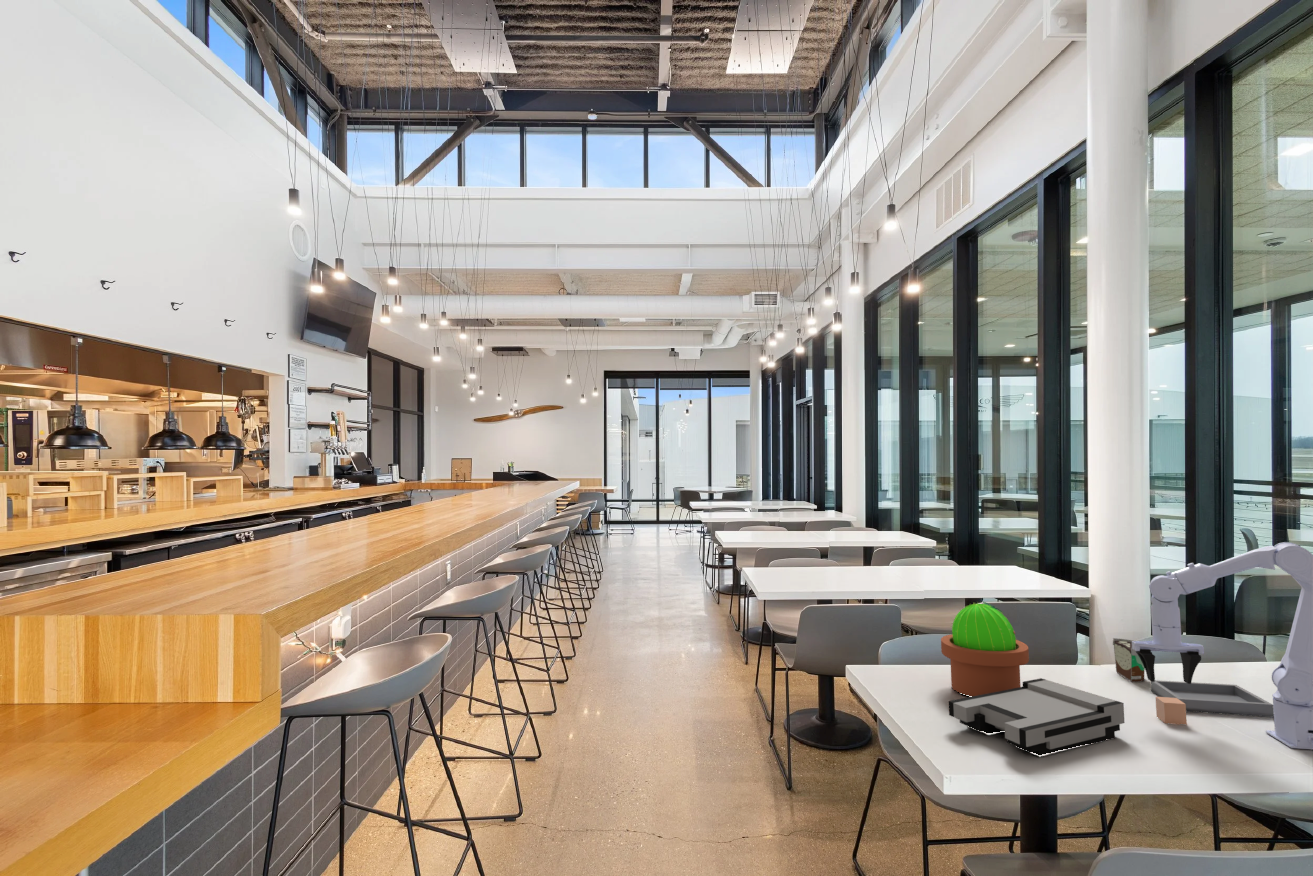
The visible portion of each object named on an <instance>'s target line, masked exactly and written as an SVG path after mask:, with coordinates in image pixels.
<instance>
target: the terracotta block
mask: <svg viewBox="0 0 1313 876" xmlns="http://www.w3.org/2000/svg"><path fill="white" fill-rule="evenodd" d="M1155 709H1156V710H1155V711H1156V713H1155V714H1156V718H1157V717H1158V718H1157V719H1159V720H1160V721H1161V722H1163V723H1164V724H1167V725H1168V723H1169V725H1170V724H1171V725H1180V724H1186V725H1185V726H1187V725H1188V724H1187V711H1186V704H1185V703H1183V702H1182V701H1180V700H1179V699H1177V698H1169V697H1159V696H1155Z"/></svg>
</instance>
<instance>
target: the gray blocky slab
mask: <svg viewBox="0 0 1313 876" xmlns="http://www.w3.org/2000/svg"><path fill="white" fill-rule="evenodd" d="M1124 706H1125V705H1124V702H1121V701H1119V700H1115V699H1112V698H1109V697H1105V696H1102V695H1098V694H1095V693H1092V692H1089V691H1085V690H1081V689H1078V688H1075V687H1071V686H1067V685H1065V684H1062V683H1059V682H1054V681H1051V680H1048V679H1045V678H1041V677H1039V678H1036V679H1031V680H1025V681H1022V686H1021V687H1019V688H1013V689H1008V690H1003V691H998V692H993V693H988V694H982V695H977V696H972V697H963V698H957V699H952V700H949V701H948V716H949V717H950V716H951V717H953V718H954V719H957V720H959V723H960V724H962V725H965V726H967V727H968V726H969V727H972V728H974V729H976V730H979V731H984V732H986V733H993V732H1000V731H1005V732H1004V739H1006V742H1007V743H1008V744H1010V745H1012V746H1014V747H1015V746H1017V747H1019V748H1022V749H1024V750H1027V751H1029V752H1033V753H1036V754H1038V755H1042V754H1046V753H1051V752H1055V751H1058V750H1063V749H1068V748H1072V747H1076V746H1080V745H1085V744H1090V745H1092V744H1091V743H1094V744H1097V743H1096V742H1098V743H1101V741H1102V742H1105V740H1106V739H1110V740H1112V739H1111V738H1114V739H1116V735H1115V733H1116V732H1119V731H1120V730H1121V725H1123V724H1125V708H1124ZM1106 741H1107V740H1106Z"/></svg>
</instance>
